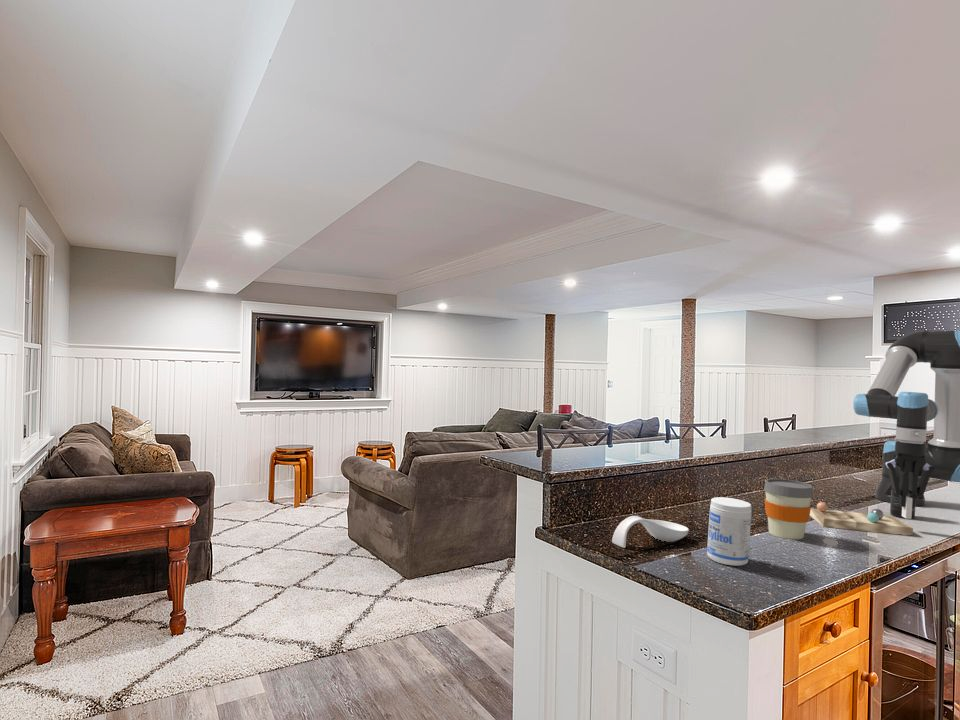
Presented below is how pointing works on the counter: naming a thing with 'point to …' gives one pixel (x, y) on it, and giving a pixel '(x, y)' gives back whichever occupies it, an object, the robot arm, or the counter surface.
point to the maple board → (860, 522)
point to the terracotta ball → (822, 506)
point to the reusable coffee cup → (787, 507)
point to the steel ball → (878, 513)
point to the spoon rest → (650, 530)
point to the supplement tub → (729, 531)
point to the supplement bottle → (895, 507)
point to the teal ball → (872, 517)
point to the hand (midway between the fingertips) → (906, 517)
